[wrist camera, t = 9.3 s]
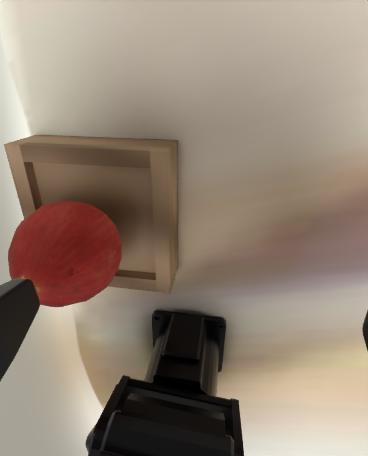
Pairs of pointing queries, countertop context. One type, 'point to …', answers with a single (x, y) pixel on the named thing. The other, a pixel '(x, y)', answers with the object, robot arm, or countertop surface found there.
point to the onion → (66, 252)
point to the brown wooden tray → (110, 195)
